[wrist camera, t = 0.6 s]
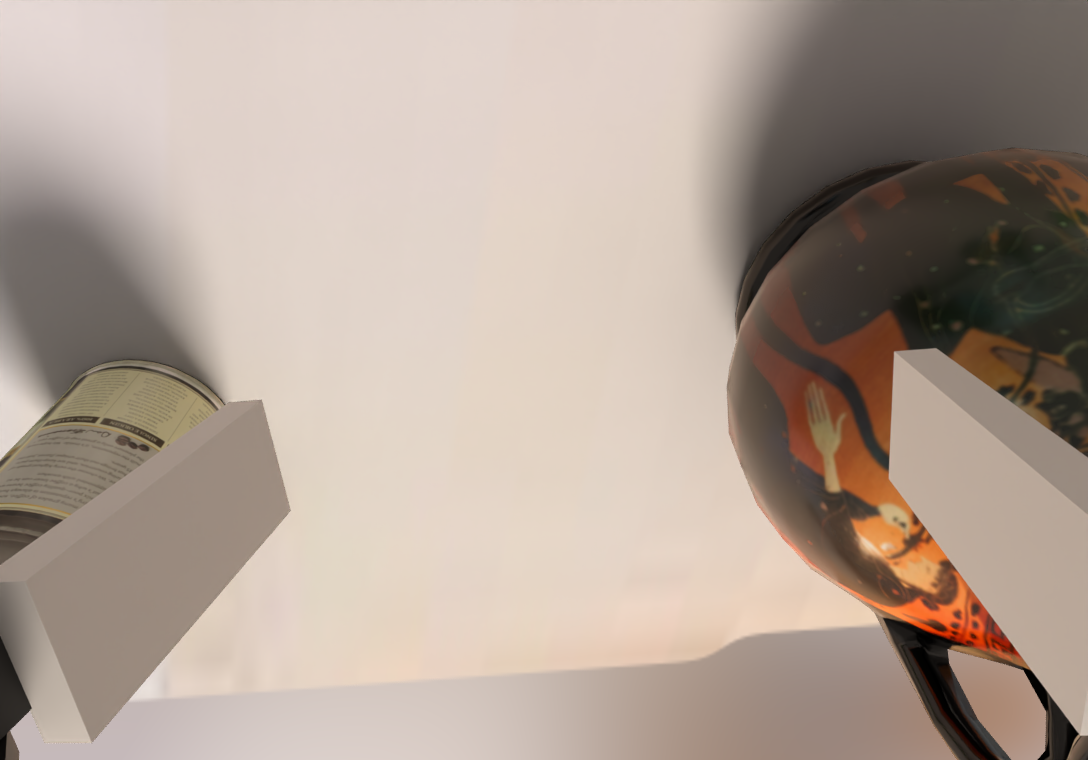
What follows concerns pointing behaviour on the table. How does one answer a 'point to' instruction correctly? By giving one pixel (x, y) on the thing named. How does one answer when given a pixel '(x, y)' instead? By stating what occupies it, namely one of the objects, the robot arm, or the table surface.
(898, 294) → the black vase
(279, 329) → the table surface
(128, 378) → the coffee can
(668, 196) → the table surface
